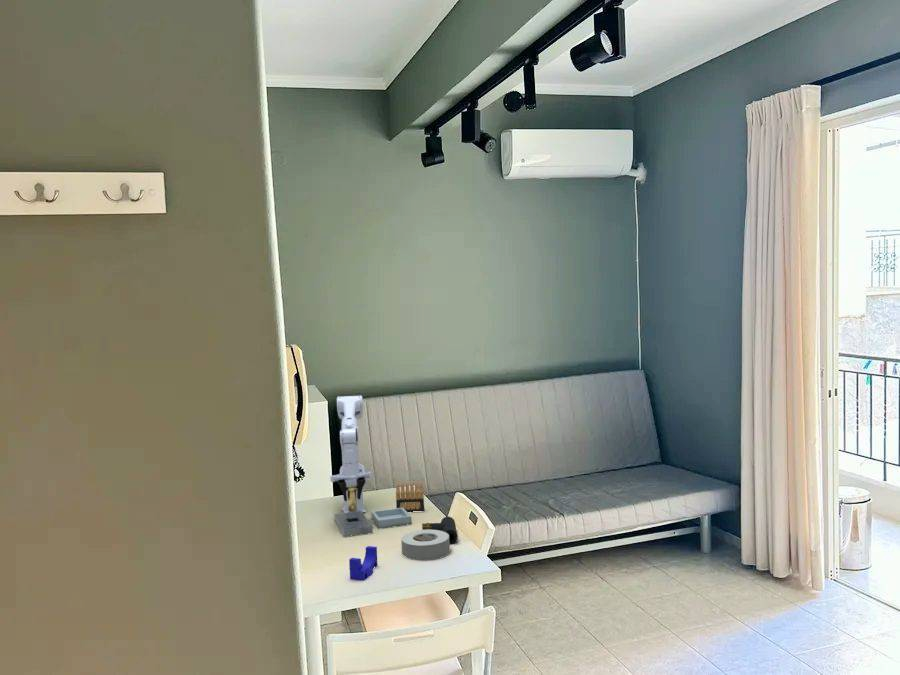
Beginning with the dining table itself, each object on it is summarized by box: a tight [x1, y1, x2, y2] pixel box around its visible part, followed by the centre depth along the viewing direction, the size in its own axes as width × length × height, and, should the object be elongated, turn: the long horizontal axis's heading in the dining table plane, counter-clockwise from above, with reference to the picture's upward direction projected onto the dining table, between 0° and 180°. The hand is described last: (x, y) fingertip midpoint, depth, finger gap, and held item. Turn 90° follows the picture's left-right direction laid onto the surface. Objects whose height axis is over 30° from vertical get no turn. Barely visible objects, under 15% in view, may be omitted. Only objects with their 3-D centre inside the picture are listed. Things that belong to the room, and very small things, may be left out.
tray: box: [370, 508, 412, 529], centre depth 276 cm, size 12×12×3 cm
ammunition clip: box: [395, 480, 426, 513], centre depth 287 cm, size 11×2×12 cm, turn 92°
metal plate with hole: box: [333, 511, 374, 537], centre depth 271 cm, size 20×10×2 cm, turn 18°
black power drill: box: [421, 516, 459, 545], centre depth 257 cm, size 12×5×15 cm
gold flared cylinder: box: [346, 485, 358, 512], centre depth 271 cm, size 4×4×9 cm
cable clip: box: [348, 545, 378, 582], centre depth 227 cm, size 12×4×6 cm, turn 159°
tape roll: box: [400, 529, 451, 561], centre depth 243 cm, size 15×15×5 cm
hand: (352, 499), depth 271 cm, fingers closed on gold flared cylinder, 4 cm apart
